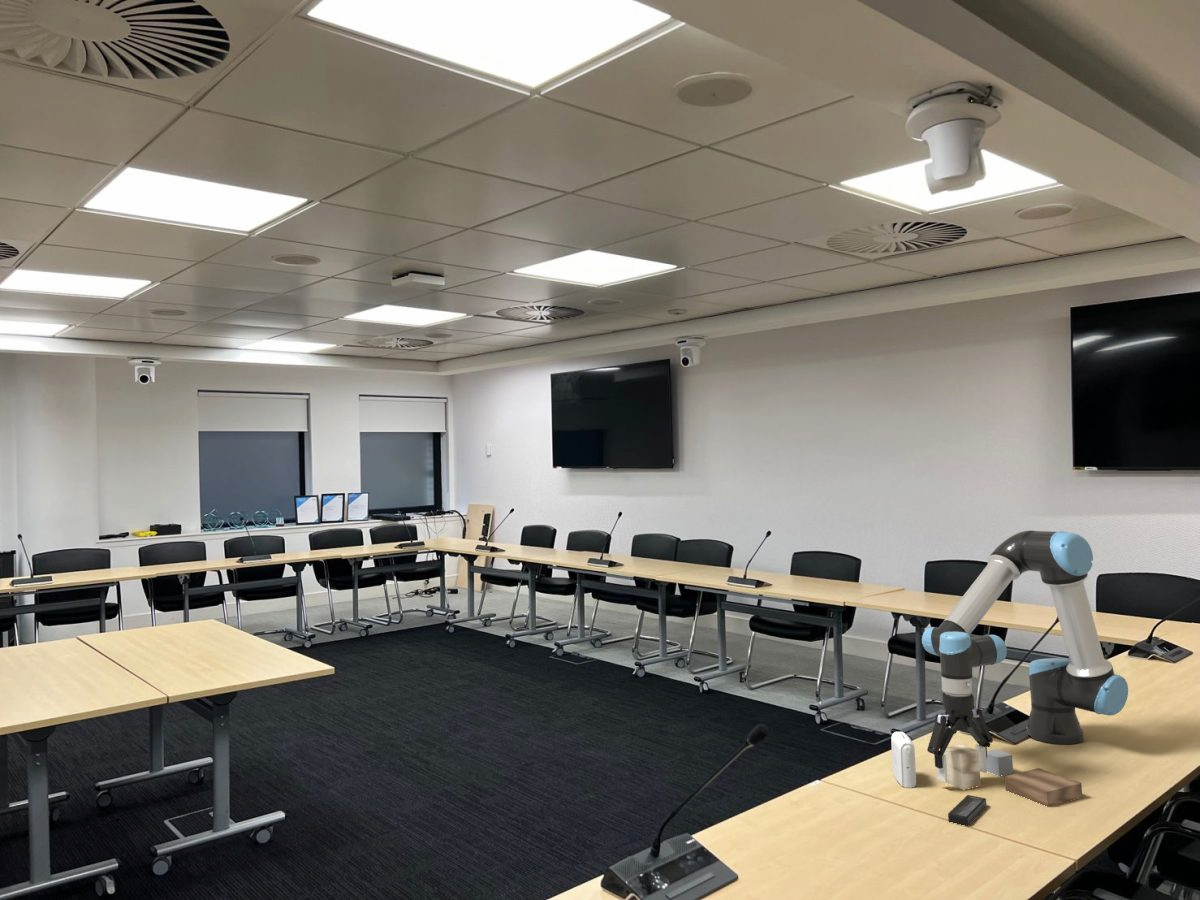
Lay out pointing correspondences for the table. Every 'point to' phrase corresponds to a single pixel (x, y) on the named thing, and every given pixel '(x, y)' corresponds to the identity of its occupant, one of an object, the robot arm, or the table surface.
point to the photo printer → (903, 759)
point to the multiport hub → (967, 810)
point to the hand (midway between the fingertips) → (962, 775)
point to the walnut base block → (1043, 787)
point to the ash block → (962, 767)
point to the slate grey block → (999, 762)
